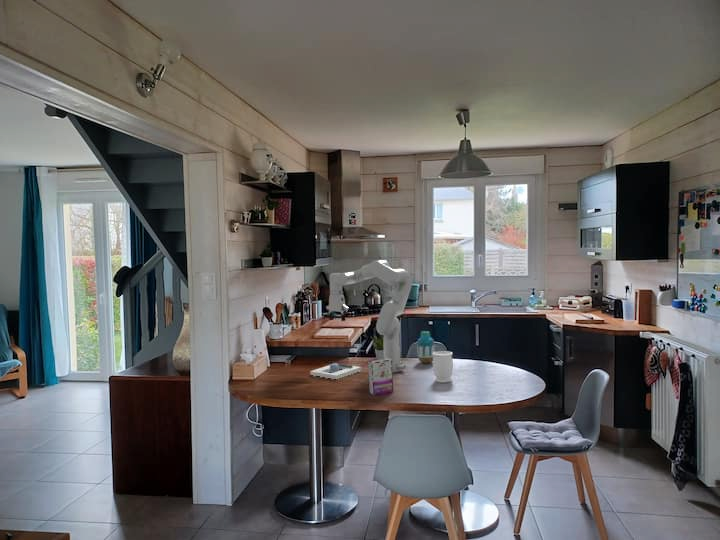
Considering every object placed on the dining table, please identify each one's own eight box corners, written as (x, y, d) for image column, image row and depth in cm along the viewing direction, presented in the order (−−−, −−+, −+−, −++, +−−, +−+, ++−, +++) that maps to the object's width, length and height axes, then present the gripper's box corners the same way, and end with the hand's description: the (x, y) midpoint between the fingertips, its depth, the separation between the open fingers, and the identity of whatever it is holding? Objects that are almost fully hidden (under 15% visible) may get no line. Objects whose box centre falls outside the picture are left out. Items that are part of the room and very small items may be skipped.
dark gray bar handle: (352, 367, 290) (352, 365, 290) (350, 368, 289) (350, 365, 289) (335, 365, 299) (335, 362, 299) (333, 365, 298) (333, 363, 298)
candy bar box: (389, 389, 251) (387, 357, 250) (393, 392, 246) (392, 359, 246) (369, 393, 246) (367, 360, 246) (373, 395, 242) (371, 362, 241)
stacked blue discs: (340, 373, 288) (340, 364, 288) (335, 375, 284) (334, 366, 284) (334, 372, 292) (333, 363, 291) (328, 374, 288) (327, 365, 287)
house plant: (365, 361, 317) (363, 335, 317) (370, 356, 330) (369, 332, 330) (386, 361, 313) (385, 336, 312) (391, 356, 326) (390, 332, 326)
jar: (431, 382, 260) (430, 354, 259) (435, 377, 269) (434, 350, 269) (451, 383, 256) (450, 355, 256) (455, 378, 266) (454, 351, 265)
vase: (416, 361, 310) (414, 331, 309) (432, 360, 311) (431, 330, 310) (420, 365, 299) (418, 333, 298) (437, 364, 300) (435, 332, 300)
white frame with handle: (361, 371, 291) (360, 367, 291) (336, 379, 274) (336, 375, 274) (335, 367, 304) (335, 363, 304) (310, 375, 287) (310, 371, 287)
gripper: (350, 292, 304) (352, 320, 305) (329, 292, 315) (331, 318, 316) (342, 293, 298) (344, 322, 299) (321, 293, 309) (323, 320, 310)
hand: (337, 320), depth 307 cm, fingers open, 9 cm apart
